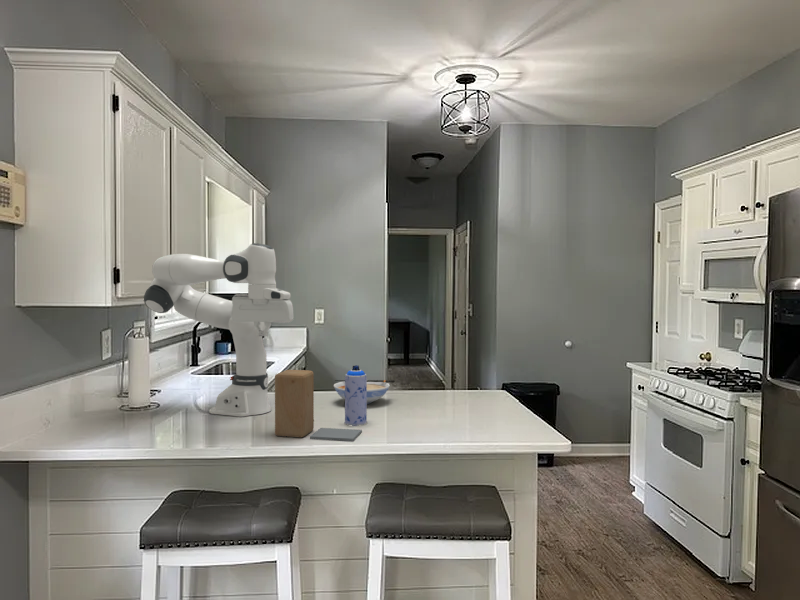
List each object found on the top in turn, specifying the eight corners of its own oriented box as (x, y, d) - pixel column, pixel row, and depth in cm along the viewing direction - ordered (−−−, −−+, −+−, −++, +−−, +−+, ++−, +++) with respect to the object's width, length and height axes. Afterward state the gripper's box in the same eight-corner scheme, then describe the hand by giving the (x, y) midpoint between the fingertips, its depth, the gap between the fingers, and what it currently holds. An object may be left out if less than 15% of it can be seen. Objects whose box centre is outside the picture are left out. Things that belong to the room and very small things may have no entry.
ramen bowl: (324, 408, 227) (324, 387, 226) (337, 396, 249) (337, 377, 249) (388, 410, 224) (388, 388, 223) (395, 397, 246) (395, 378, 246)
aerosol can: (352, 419, 208) (353, 363, 208) (371, 422, 204) (371, 365, 204) (339, 424, 201) (339, 366, 201) (358, 426, 198) (358, 368, 197)
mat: (309, 439, 182) (309, 436, 182) (320, 430, 193) (320, 427, 193) (353, 441, 180) (353, 438, 180) (361, 432, 191) (361, 429, 191)
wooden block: (303, 438, 183) (303, 375, 182) (273, 436, 185) (273, 373, 184) (314, 430, 193) (314, 370, 192) (286, 428, 195) (286, 369, 194)
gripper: (227, 293, 188) (228, 336, 189) (288, 294, 185) (288, 337, 185) (236, 293, 194) (236, 334, 195) (295, 293, 191) (295, 335, 191)
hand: (262, 336), depth 190 cm, fingers closed
